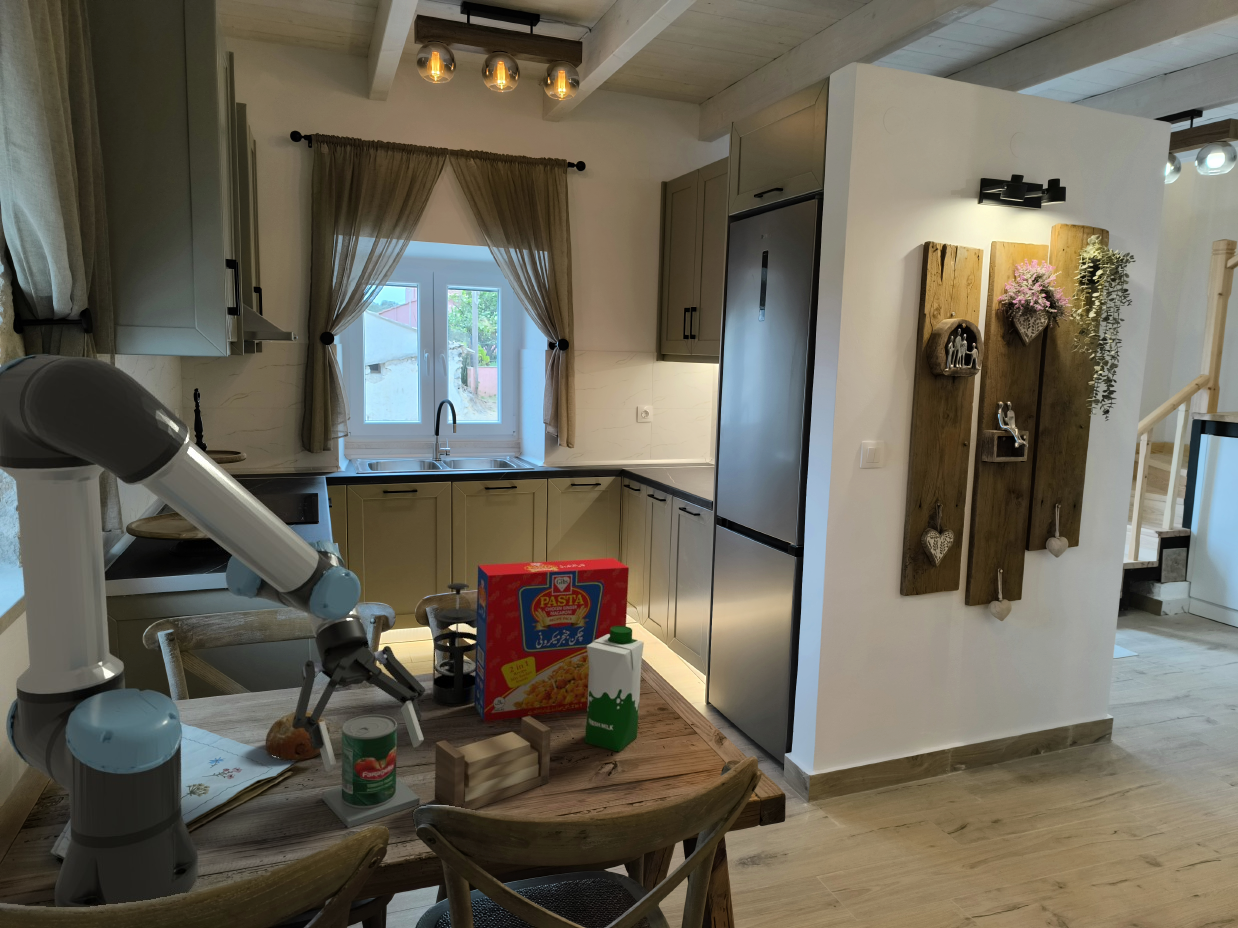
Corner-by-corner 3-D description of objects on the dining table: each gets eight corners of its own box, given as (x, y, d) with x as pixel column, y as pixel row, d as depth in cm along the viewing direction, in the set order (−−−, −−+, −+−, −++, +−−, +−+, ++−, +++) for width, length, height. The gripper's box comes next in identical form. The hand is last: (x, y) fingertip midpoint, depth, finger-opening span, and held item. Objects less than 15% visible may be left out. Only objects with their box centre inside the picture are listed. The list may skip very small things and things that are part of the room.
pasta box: (484, 721, 153) (488, 575, 150) (474, 705, 160) (478, 565, 157) (622, 704, 164) (628, 567, 161) (607, 689, 171) (613, 558, 168)
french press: (482, 705, 160) (486, 590, 157) (433, 709, 157) (436, 592, 154) (475, 683, 171) (477, 575, 168) (428, 686, 168) (431, 577, 166)
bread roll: (311, 752, 146) (299, 708, 147) (347, 742, 140) (334, 697, 141) (262, 774, 137) (249, 727, 138) (298, 765, 132) (285, 716, 133)
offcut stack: (464, 801, 122) (465, 764, 121) (447, 786, 126) (447, 750, 125) (538, 776, 130) (539, 741, 130) (519, 762, 134) (520, 729, 134)
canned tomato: (364, 777, 128) (365, 710, 127) (406, 788, 126) (408, 720, 124) (329, 801, 121) (330, 730, 120) (373, 813, 118) (374, 741, 117)
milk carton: (643, 736, 150) (649, 630, 147) (620, 755, 142) (626, 643, 139) (601, 725, 154) (606, 621, 151) (577, 743, 146) (581, 634, 143)
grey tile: (348, 827, 116) (348, 821, 116) (321, 798, 124) (321, 791, 124) (419, 803, 123) (419, 797, 123) (390, 777, 131) (390, 771, 131)
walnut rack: (454, 816, 120) (455, 757, 119) (434, 798, 125) (435, 742, 124) (548, 782, 131) (550, 728, 130) (527, 767, 136) (529, 715, 135)
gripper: (403, 628, 142) (443, 743, 132) (251, 655, 126) (284, 789, 116) (418, 606, 137) (460, 724, 127) (262, 631, 121) (297, 768, 111)
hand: (376, 755), depth 122 cm, fingers open, 13 cm apart
